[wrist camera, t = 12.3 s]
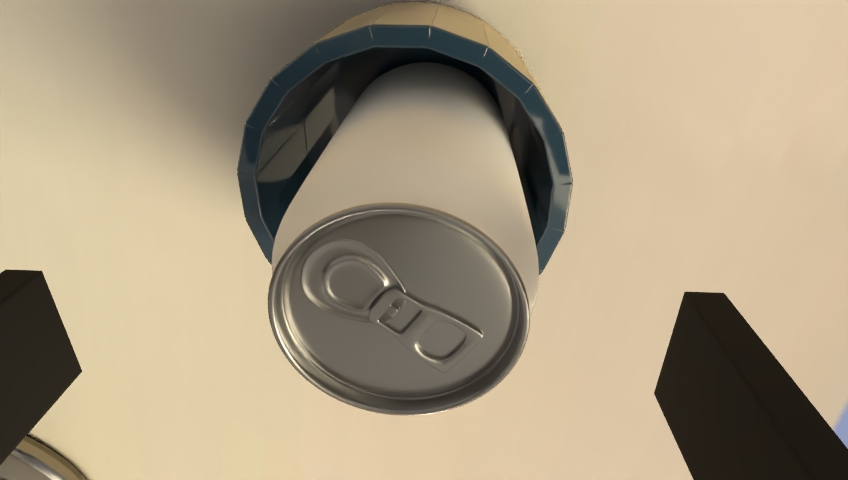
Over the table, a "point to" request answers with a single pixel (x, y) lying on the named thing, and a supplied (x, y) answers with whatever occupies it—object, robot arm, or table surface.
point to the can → (408, 250)
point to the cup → (356, 69)
